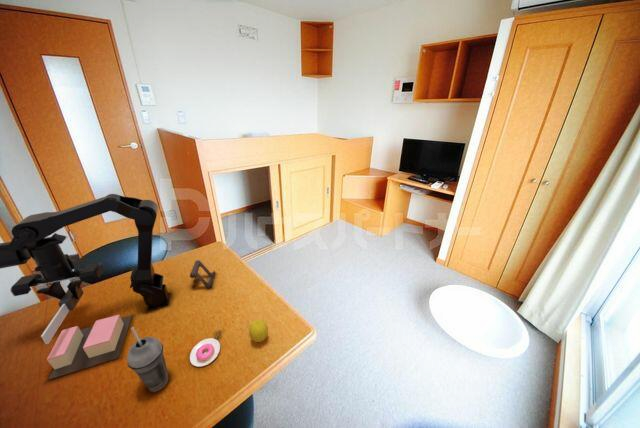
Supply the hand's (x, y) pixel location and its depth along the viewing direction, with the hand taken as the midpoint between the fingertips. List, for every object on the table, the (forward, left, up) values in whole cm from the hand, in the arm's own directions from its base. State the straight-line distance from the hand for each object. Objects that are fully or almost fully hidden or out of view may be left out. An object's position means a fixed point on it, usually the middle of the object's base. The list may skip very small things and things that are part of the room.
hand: (72, 299), depth 74 cm
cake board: (-5, +10, -11) cm, 16 cm away
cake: (-8, +10, -10) cm, 17 cm away
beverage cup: (-24, +30, -11) cm, 41 cm away
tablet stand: (-35, -7, -11) cm, 38 cm away
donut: (-36, +25, -11) cm, 46 cm away
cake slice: (0, +11, -10) cm, 15 cm away
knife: (0, +6, -1) cm, 6 cm away
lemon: (-51, +28, -11) cm, 60 cm away
